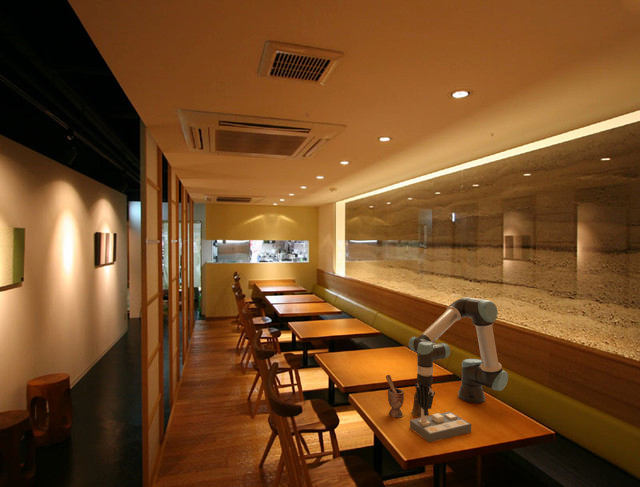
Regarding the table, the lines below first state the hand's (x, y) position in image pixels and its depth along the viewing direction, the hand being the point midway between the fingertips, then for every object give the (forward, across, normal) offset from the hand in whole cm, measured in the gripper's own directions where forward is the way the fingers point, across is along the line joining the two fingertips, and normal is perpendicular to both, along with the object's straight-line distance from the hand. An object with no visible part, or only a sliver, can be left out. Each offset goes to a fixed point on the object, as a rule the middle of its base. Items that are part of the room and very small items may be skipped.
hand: (424, 420), depth 188 cm
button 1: (+4, 0, 0) cm, 4 cm away
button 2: (+4, 0, +17) cm, 18 cm away
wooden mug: (+6, -17, +13) cm, 22 cm away
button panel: (+5, +2, +9) cm, 10 cm away
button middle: (+3, 0, +9) cm, 9 cm away
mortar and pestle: (+6, -22, -3) cm, 23 cm away
